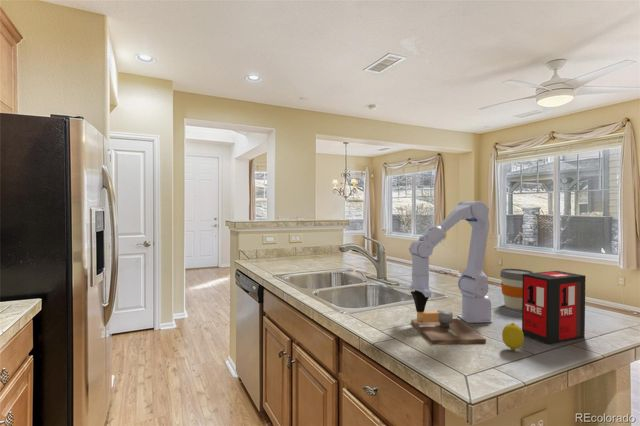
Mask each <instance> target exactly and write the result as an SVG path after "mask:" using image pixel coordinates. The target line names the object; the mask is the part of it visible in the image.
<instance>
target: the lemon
mask: <svg viewBox="0 0 640 426" xmlns="http://www.w3.org/2000/svg"><path fill="white" fill-rule="evenodd" d="M501 333H502V335H501V336H502V337H501V338H502V341H503V343H504V345H505V346H506V347H507V348H509V349H510V350H511V351H515V350H517V349H520V348H522V346H523V345H524V342H525V335H523V331H522V327H520V326H519V325H517V324H515V323H514V322H511V323H509V324H506V325H505V326H504V327H503V328H502V332H501Z"/></svg>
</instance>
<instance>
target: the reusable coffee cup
mask: <svg viewBox="0 0 640 426" xmlns="http://www.w3.org/2000/svg"><path fill="white" fill-rule="evenodd" d="M527 273H535V272H534V271H532V270H528V269H521V268H501V269H500V275H499V276H500V280H501V282H500V288H501V294H502V296H503V302H504V306H505V307H506V308H509V309H513V310H519V311H520V310H521V311H522V287H523V274H527Z"/></svg>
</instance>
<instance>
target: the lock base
mask: <svg viewBox="0 0 640 426" xmlns="http://www.w3.org/2000/svg"><path fill="white" fill-rule="evenodd" d="M410 322H411V324H412V325H413V327H415V328H416V329H417V331H418V332H419V333H421V334H422V336H423V337H424V338H425V339H426V340H427V341H428V342H429V343H430V344H431V345H448V344H449V345H451V344H452V345H453V344H486V343H487V338H486V337H484V336H482V335H481V334H480V333H478V332H477V331H476V330H474V329H473V328H471V327H469V326H468V325H467V324H465V323H464V322H463V321H462V320H460V319H458V318H453V322H452V323H450V324H445V323H440V322H422V323H420V322H417V318H416V319H414V318H413V319H412V318H411V319H410Z"/></svg>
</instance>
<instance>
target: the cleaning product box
mask: <svg viewBox="0 0 640 426" xmlns="http://www.w3.org/2000/svg"><path fill="white" fill-rule="evenodd" d="M521 312H522V313H521V330H522V331H523V335H524V337H528V338H530V339H533V340H535V341H538V342H540V343H542V344H545V345H548V346H549V345H554V344H560V343H565V342H570V341H575V340H581V339H584V338H585V337H586V335H585V333H586V332H585V330H586V326H585V325H586V275H584V274H577V273H572V272H568V271H567V272H566V271H560V270H552V271H551V270H550V271H540V272H534V273H527V274H523V287H522V310H521Z"/></svg>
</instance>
